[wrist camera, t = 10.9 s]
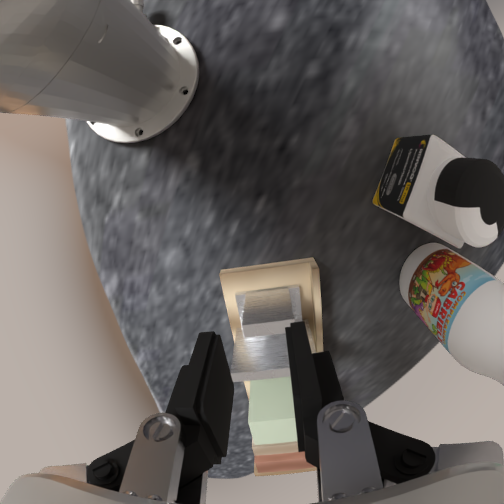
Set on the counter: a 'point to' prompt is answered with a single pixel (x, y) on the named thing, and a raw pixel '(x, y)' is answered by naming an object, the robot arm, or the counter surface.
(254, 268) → the panel
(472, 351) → the milk bottle
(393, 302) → the counter surface
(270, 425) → the pale green block
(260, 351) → the bookend
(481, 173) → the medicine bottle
